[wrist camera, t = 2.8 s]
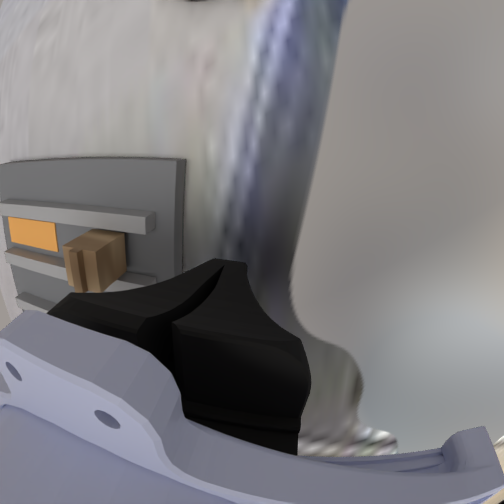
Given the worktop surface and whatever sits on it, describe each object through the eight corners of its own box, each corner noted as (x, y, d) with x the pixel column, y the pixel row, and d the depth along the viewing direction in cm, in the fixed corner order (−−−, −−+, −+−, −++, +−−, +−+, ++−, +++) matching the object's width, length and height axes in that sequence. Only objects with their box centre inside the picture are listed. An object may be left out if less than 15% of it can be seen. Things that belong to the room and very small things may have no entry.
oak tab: (126, 270, 14) (96, 298, 11) (96, 264, 14) (63, 288, 11) (124, 233, 13) (90, 255, 10) (92, 228, 13) (56, 248, 11)
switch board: (187, 395, 19) (178, 417, 17) (45, 346, 20) (31, 360, 18) (185, 159, 13) (167, 162, 11) (10, 162, 14) (-12, 167, 12)
